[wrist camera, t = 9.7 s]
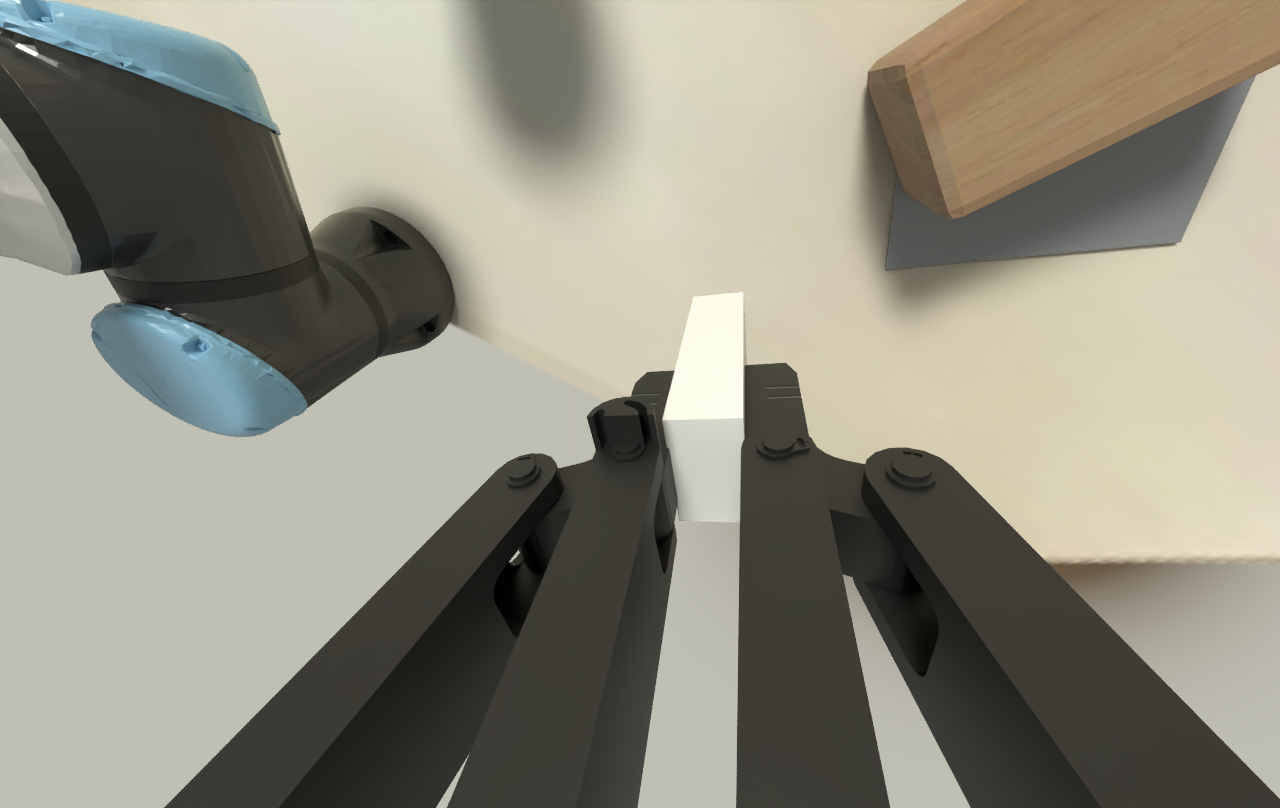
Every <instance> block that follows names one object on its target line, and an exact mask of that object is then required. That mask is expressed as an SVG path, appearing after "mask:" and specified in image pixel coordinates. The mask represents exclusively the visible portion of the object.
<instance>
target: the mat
mask: <svg viewBox="0 0 1280 808" xmlns="http://www.w3.org/2000/svg"><path fill="white" fill-rule="evenodd" d="M1255 76H1256V75H1255ZM1255 76H1253V77H1251V78H1249V79H1247V80H1245V81H1243V82H1241V83H1239V84H1237V85H1235V86H1233V87H1231V88H1228V89H1226V90H1224V91H1222V92H1220V93H1218V94H1216V95H1214V96H1212V97H1210V98H1208V99H1206V100H1204V101H1202V102H1199V103H1197V104H1195V105H1193V106H1191V107H1189V108H1187V109H1185V110H1183V111H1181V112H1179V113H1177V114H1175V115H1173V116H1171V117H1168V118H1166V119H1164V120H1162V121H1160V122H1158V123H1156V124H1154V125H1152V126H1150V127H1148V128H1146V129H1144V130H1142V131H1140V132H1137V133H1135V134H1133V135H1131V136H1129V137H1127V138H1125V139H1123V140H1121V141H1119V142H1117V143H1115V144H1113V145H1111V146H1108V147H1106V148H1104V149H1102V150H1100V151H1098V152H1096V153H1094V154H1092V155H1090V156H1088V157H1086V158H1084V159H1082V160H1080V161H1077V162H1075V163H1073V164H1071V165H1069V166H1067V167H1065V168H1063V169H1061V170H1059V171H1057V172H1055V173H1053V174H1051V175H1048V176H1046V177H1044V178H1042V179H1040V180H1038V181H1036V182H1034V183H1032V184H1030V185H1028V186H1026V187H1024V188H1022V189H1020V190H1017V191H1015V192H1013V193H1011V194H1009V195H1007V196H1005V197H1003V198H1001V199H999V200H997V201H995V202H993V203H991V204H989V205H986V206H984V207H982V208H980V209H978V210H976V211H974V212H972V213H970V214H968V215H966V216H964V217H962V218H955V219H948V220H947V219H946V218H944V217H942V216H941V215H939V214H937V213H936V212H934V211H932V210H931V209H929V208H927V207H926V206H924V205H923V204H921V203H919V202H918V201H916V200H914V199H913V198H911V197H910V196H909V195H908V194H906V193H905V192H904V190H903V188H902V185H901V182H900V179H899V176H898V173H897V177H896V185H895V194H894V202H893V210H892V218H891V226H890V234H889V243H888V251H887V259H886V267H885V269H886V270H890V269H901V268H911V267H922V266H933V265H943V264H954V263H964V262H975V261H986V260H996V259H1007V258H1017V257H1028V256H1039V255H1049V254H1060V253H1071V252H1081V251H1092V250H1102V249H1113V248H1124V247H1134V246H1145V245H1155V244H1166V243H1177V242H1181V240H1182V237H1183V235H1184V233H1185V231H1186V229H1187V226H1188V224H1189V222H1190V220H1191V218H1192V215H1193V213H1194V211H1195V209H1196V207H1197V204H1198V202H1199V200H1200V198H1201V196H1202V193H1203V191H1204V189H1205V187H1206V184H1207V182H1208V180H1209V178H1210V176H1211V173H1212V171H1213V169H1214V167H1215V165H1216V162H1217V160H1218V158H1219V156H1220V154H1221V151H1222V149H1223V147H1224V145H1225V142H1226V140H1227V138H1228V136H1229V134H1230V131H1231V129H1232V127H1233V125H1234V123H1235V120H1236V118H1237V116H1238V114H1239V112H1240V109H1241V107H1242V105H1243V103H1244V100H1245V98H1246V96H1247V94H1248V92H1249V89H1250V87H1251V85H1252V83H1253V81H1254V78H1255Z"/></svg>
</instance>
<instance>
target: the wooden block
mask: <svg viewBox="0 0 1280 808" xmlns="http://www.w3.org/2000/svg"><path fill="white" fill-rule="evenodd" d="M1278 64H1280V0H967V1H966V2H964V3H963V4H961V5H960V6H958V7H957V8H955V9H954V10H952V11H951V12H949V13H948V14H946V15H945V16H943V17H942V18H940V19H939V20H937V21H936V22H934V23H933V24H931V25H930V26H928V27H927V28H925V29H924V30H922V31H921V32H919V33H918V34H916V35H915V36H913V37H912V38H910V39H909V40H907V41H906V42H904V43H903V44H901V45H900V46H898V47H897V48H895V49H894V50H892V51H891V52H889V53H888V54H886V55H885V56H883V57H882V58H880V59H879V60H877V61H876V63H875V64H874V65H873V66H872V68H871V69H870V70H869V71H868V80H867V86H868V89H869V92H870V95H871V98H872V101H873V104H874V107H875V109H876V112H877V115H878V118H879V121H880V124H881V127H882V130H883V133H884V135H885V138H886V141H887V144H888V147H889V150H890V153H891V156H892V159H893V162H894V164H895V167H896V170H897V173H898V176H899V179H900V182H901V185H902V188H903V190H904V192H905V193H906V194H908V195H909V196H910V197H911V198H913V199H914V200H916V201H918V202H919V203H921V204H923V205H924V206H926V207H927V208H929V209H931V210H932V211H934V212H936V213H937V214H939V215H941V216H942V217H944V218H946V219H947V220H948V219H955V218H962V217H964V216H966V215H968V214H970V213H972V212H974V211H976V210H978V209H980V208H982V207H984V206H986V205H989V204H991V203H993V202H995V201H997V200H999V199H1001V198H1003V197H1005V196H1007V195H1009V194H1011V193H1013V192H1015V191H1017V190H1020V189H1022V188H1024V187H1026V186H1028V185H1030V184H1032V183H1034V182H1036V181H1038V180H1040V179H1042V178H1044V177H1046V176H1048V175H1051V174H1053V173H1055V172H1057V171H1059V170H1061V169H1063V168H1065V167H1067V166H1069V165H1071V164H1073V163H1075V162H1077V161H1080V160H1082V159H1084V158H1086V157H1088V156H1090V155H1092V154H1094V153H1096V152H1098V151H1100V150H1102V149H1104V148H1106V147H1108V146H1111V145H1113V144H1115V143H1117V142H1119V141H1121V140H1123V139H1125V138H1127V137H1129V136H1131V135H1133V134H1135V133H1137V132H1140V131H1142V130H1144V129H1146V128H1148V127H1150V126H1152V125H1154V124H1156V123H1158V122H1160V121H1162V120H1164V119H1166V118H1168V117H1171V116H1173V115H1175V114H1177V113H1179V112H1181V111H1183V110H1185V109H1187V108H1189V107H1191V106H1193V105H1195V104H1197V103H1199V102H1202V101H1204V100H1206V99H1208V98H1210V97H1212V96H1214V95H1216V94H1218V93H1220V92H1222V91H1224V90H1226V89H1228V88H1231V87H1233V86H1235V85H1237V84H1239V83H1241V82H1243V81H1245V80H1247V79H1249V78H1251V77H1253V76H1255V75H1257V74H1259V73H1262V72H1264V71H1266V70H1268V69H1270V68H1272V67H1274V66H1276V65H1278Z"/></svg>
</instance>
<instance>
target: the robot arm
mask: <svg viewBox="0 0 1280 808" xmlns="http://www.w3.org/2000/svg"><path fill="white" fill-rule="evenodd" d="M278 135H281V134H280V131H279V128H278V127H277V125H276V124H275V123H274V122H273V121H272V119H271V116H270V113H269V111H268V108H267V105H266V103H265V100H264V97H263V95H262V92H261V89H260V87H259V84H258V81H257V79H256V76H255V74H254V72H253V71H252V69H251V68H250V66H249V65H248V64H247V63H246V61H245V60H244V59H243V58H242V57H241V56H239V55H238V54H237V53H236V52H234V51H233V50H232V49H230V48H229V47H227V46H225V45H223V44H221V43H219V42H217V41H214V40H212V39H209V38H206V37H202V36H199V35H196V34H193V33H189V32H186V31H182V30H178V29H175V28H171V27H167V26H163V25H159V24H155V23H152V22H148V21H143V20H139V19H135V18H131V17H127V16H123V15H118V14H114V13H110V12H105V11H101V10H96V9H92V8H88V7H83V6H78V5H73V4H68V3H63V2H59V1H46V0H0V256H4V257H9V258H15V259H18V260H22V261H24V262H28V263H31V264H34V265H37V266H39V267H42V268H45V269H48V270H51V271H54V272H58V273H61V274H63V275H75V274H81V273H86V272H92V271H98V270H103V271H104V272H105V274H106V276H107V278H108V279H109V281H110V282H111V284H112V286H113V288H114V289H115V291H116V293H117V294H118V296H119V298H120V300H121V302H120V303H113V304H109V305H107V306H105V307H104V309H103V310H102V311H101V312H99V313H98V314H96V315H95V317H94V318H93V319H92V322H91V328H92V329H93V330H92V339H93V342H94V344H95V346H96V348H97V349H98V351H99V352H100V354H101V355H102V357H103V358H104V359H105V361H106V362H107V363H108V364H109V365H110V366H111V368H112V369H113V370H114V371H115V372H116V373H117V374H118V375H119V376H120V377H121V378H122V379H123V380H124V381H125V382H126V383H128V384H129V385H130V386H131V387H133V388H134V389H135V390H136V391H137V392H139V393H140V394H141V395H143V396H144V397H145V398H147V399H148V400H149V401H151V402H152V403H154V404H155V405H157V406H158V407H160V408H161V409H163V410H165V411H167V412H169V413H170V414H172V415H173V416H175V417H177V418H179V419H181V420H183V421H185V422H187V423H189V424H192V425H194V426H196V427H199V428H201V429H204V430H207V431H210V432H214V433H217V434H221V435H226V436H234V437H249V436H256V435H260V434H263V433H265V432H268V431H270V430H271V429H273V428H275V427H276V426H278V425H280V424H282V423H283V422H285V421H287V420H289V419H290V418H292V417H293V416H297V415H300V414H302V413H303V412H304V411H305V410H306V408H308V407H309V406H311V405H312V404H313V403H315V402H316V401H317V400H319V399H320V398H322V397H323V396H325V395H326V394H327V393H329V392H330V391H331V390H333V389H334V388H336V387H337V386H339V385H340V384H341V383H343V382H344V381H346V380H347V379H348V378H350V377H351V376H353V375H354V374H355V373H357V372H358V371H360V370H361V369H362V368H364V367H365V366H367V365H368V364H369V363H371V362H372V361H373V360H375V359H377V358H378V357H382V356H386V355H391V354H395V353H400V352H405V351H409V350H414V349H417V348H420V347H422V346H424V345H426V344H428V343H429V342H431V341H432V340H433V339H435V338H436V337H437V336H439V335H440V334H441V333H442V332H443V331H444V330H445V328H446V327H447V325H448V324H449V322H450V319H451V316H452V312H453V291H452V286H451V282H450V279H449V276H448V273H447V271H446V268H445V266H444V264H443V262H442V261H441V259H440V257H439V256H438V254H437V253H436V251H435V250H434V248H433V247H432V246H431V245H430V243H429V242H428V241H427V240H426V239H425V238H424V237H423V236H422V235H421V234H420V233H419V232H418V231H417V230H416V229H415V228H413V227H412V226H411V225H409V224H408V223H407V222H405V221H404V220H402V219H400V218H399V217H397V216H395V215H393V214H391V213H388V212H386V211H382V210H379V209H375V208H367V207H360V208H353V209H349V210H346V211H342V212H338V213H335V214H333V215H331V216H329V217H327V218H326V219H324V220H323V221H322V222H320V223H319V224H318V225H317V226H316V227H315V228H314V229H313V230H312V231H311V232H310V233H309V230H308V227H307V224H306V221H305V218H304V215H303V212H302V208H301V205H300V202H299V199H298V196H297V193H296V190H295V187H294V183H293V180H292V177H291V174H290V171H289V168H288V165H287V161H286V158H285V155H284V152H283V149H282V146H281V143H280V140H279V136H278ZM587 419H588V423H589V426H590V430H591V434H592V437H593V441H594V444H595V448H596V452H595V454H594V456H593V459H591V460H589V461H586V462H583V463H580V464H576V465H571V466H567V467H563V468H558V467H557V465H556V463H555V461H554V460H553V459H552V458H551V457H550V456H547V455H544V454H527V455H523V456H519V457H517V458H515V459H513V460H510V461H508V462H507V463H506V464H504V465H503V466H502V467H501V468H499V469H498V470H497V471H496V472H495V473H494V474H493V475H492V476H491V477H490V478H489V479H488V480H487V481H486V482H485V483H484V484H483V485H482V486H481V487H480V488H479V489H478V490H477V491H476V492H475V493H474V494H473V495H472V496H471V497H470V498H469V499H468V500H467V501H466V502H465V504H463V505H462V506H461V507H460V508H459V510H457V511H456V512H455V513H454V514H453V515H452V517H451V518H450V519H449V520H448V521H447V522H446V523H445V524H444V525H443V526H442V527H441V528H440V529H439V530H438V531H437V532H436V533H435V534H434V535H433V536H432V537H431V538H430V539H429V540H428V541H427V542H426V543H425V544H424V545H423V546H422V547H421V548H420V549H419V550H418V551H417V552H416V553H415V554H414V555H413V556H412V557H411V558H410V559H409V560H408V561H407V562H406V563H405V564H404V565H403V566H402V567H401V568H400V569H399V570H398V571H397V572H396V573H395V574H394V575H393V576H392V577H391V578H390V579H389V580H388V581H387V582H386V583H385V585H383V587H381V588H380V589H379V590H378V592H377V593H376V594H375V595H374V596H373V597H372V598H371V599H370V600H369V601H368V602H367V603H366V604H365V605H364V606H363V607H362V608H361V609H360V610H359V611H358V612H357V613H356V614H355V615H354V616H353V617H352V618H351V619H350V620H349V621H348V622H347V623H346V624H345V625H344V626H343V627H342V628H341V629H340V630H339V631H338V632H337V633H336V634H335V635H334V636H333V637H332V638H331V639H330V640H329V641H328V642H327V643H326V644H325V645H324V646H323V647H322V648H321V649H320V650H319V651H318V653H316V654H315V655H314V656H313V657H312V658H311V659H310V660H309V661H308V662H307V663H306V664H305V666H304V667H303V668H302V669H301V670H300V671H299V672H298V673H297V674H296V675H295V676H294V677H293V678H292V679H291V680H290V681H289V682H288V683H287V684H286V685H285V686H284V687H283V688H282V689H281V690H280V691H279V692H278V693H277V694H276V695H275V696H274V697H273V698H272V699H271V700H270V701H269V702H268V703H267V704H266V705H265V706H264V707H263V708H262V709H261V710H260V711H259V712H258V713H257V714H256V715H255V716H254V717H253V718H252V719H251V720H250V721H249V722H248V723H247V724H246V725H245V726H244V727H243V728H242V729H241V730H240V731H239V732H238V733H237V734H236V735H235V737H234V738H233V739H231V741H230V742H229V743H228V744H227V745H226V746H225V747H224V748H223V749H222V750H221V751H220V752H219V753H218V754H217V755H216V756H215V757H214V758H213V759H212V760H211V761H210V762H209V763H208V764H207V765H206V766H205V767H204V768H203V769H202V770H201V771H200V772H199V773H198V774H197V775H196V776H195V777H194V778H193V779H192V780H191V781H190V782H189V783H188V784H187V785H186V786H185V787H184V788H183V789H182V790H181V791H180V792H179V793H178V794H177V795H176V796H175V797H174V798H173V799H172V800H171V802H169V803H168V804H167V806H166V807H164V808H436V806H437V805H438V803H439V802H440V800H441V798H442V797H443V795H444V794H445V792H446V790H447V789H448V787H449V785H450V784H451V782H452V781H453V779H454V777H455V776H456V774H457V772H458V771H459V769H460V768H461V766H462V764H463V763H464V761H465V759H466V758H467V756H468V755H469V756H468V759H467V761H466V764H465V766H464V768H463V771H462V773H461V776H460V778H459V780H458V783H457V785H456V788H455V790H454V792H453V795H452V797H451V800H450V802H449V804H448V807H447V808H637V806H638V800H639V793H640V786H641V779H642V773H643V766H644V759H645V752H646V745H647V739H648V732H649V725H650V719H651V712H652V705H653V698H654V692H655V685H656V678H657V671H658V665H659V658H660V650H661V644H662V637H663V631H664V624H665V617H666V610H667V603H668V597H669V589H670V584H671V577H672V570H673V563H674V557H675V550H676V543H677V538H676V530H675V524H674V520H675V514H676V508H677V510H678V516H679V520H680V521H702V522H739V523H740V561H739V562H740V563H739V564H740V566H739V639H738V641H739V642H738V718H737V719H738V720H737V722H738V723H737V724H738V725H737V796H736V808H890V805H889V800H888V795H887V790H886V785H885V780H884V775H883V771H882V765H881V760H880V756H879V751H878V746H877V741H876V737H875V731H874V726H873V721H872V716H871V712H870V707H869V702H868V697H867V692H866V687H865V682H864V677H863V672H862V668H861V663H860V658H859V653H858V648H857V643H856V638H855V633H854V628H853V623H852V618H851V614H850V609H849V604H848V599H847V594H846V589H845V584H844V579H843V574H844V575H847V576H850V577H853V580H854V584H855V586H856V588H857V590H858V591H859V593H860V595H861V597H862V599H863V601H864V603H865V605H866V607H867V609H868V611H869V612H870V615H871V617H872V618H873V620H874V622H875V624H876V626H877V628H878V630H879V632H880V634H881V636H882V637H883V640H884V641H885V643H886V645H887V647H888V649H889V651H890V653H891V655H892V657H893V659H894V661H895V663H896V665H897V666H898V668H899V670H900V672H901V674H902V676H903V678H904V680H905V682H906V684H907V686H908V688H909V690H910V692H911V693H912V695H913V697H914V699H915V701H916V703H917V705H918V707H919V709H920V711H921V713H922V715H923V716H924V718H925V720H926V722H927V724H928V726H929V728H930V730H931V732H932V734H933V736H934V738H935V740H936V742H937V743H938V745H939V747H940V749H941V751H942V753H943V755H944V757H945V759H946V761H947V763H948V765H949V767H950V768H951V770H952V772H953V774H954V776H955V778H956V780H957V782H958V784H959V786H960V788H961V790H962V792H963V793H964V795H965V797H966V799H967V801H968V803H969V805H970V807H971V808H1280V799H1279V798H1278V797H1277V796H1276V795H1275V794H1274V793H1273V792H1272V791H1271V790H1270V789H1269V788H1268V787H1267V786H1266V785H1265V784H1264V783H1263V782H1262V780H1261V779H1259V777H1258V776H1257V775H1256V774H1255V773H1254V772H1253V771H1252V770H1250V768H1249V767H1248V766H1247V765H1246V764H1245V763H1244V762H1243V761H1242V760H1241V759H1240V758H1239V757H1238V756H1237V755H1236V754H1235V753H1234V752H1233V751H1232V750H1231V749H1230V748H1229V747H1228V746H1227V745H1226V744H1225V743H1224V742H1223V741H1222V740H1221V739H1220V738H1219V737H1218V736H1217V735H1216V734H1215V733H1214V732H1213V731H1212V730H1211V729H1210V728H1209V727H1208V726H1207V725H1206V724H1205V723H1204V722H1203V721H1202V720H1201V719H1200V718H1199V717H1198V716H1197V715H1196V713H1195V712H1194V711H1193V710H1192V709H1191V708H1190V707H1189V706H1188V705H1187V704H1186V703H1185V702H1184V701H1183V700H1182V699H1181V698H1180V697H1179V696H1178V695H1177V694H1176V693H1175V692H1174V691H1173V690H1172V689H1171V688H1170V687H1169V686H1168V685H1167V684H1166V683H1165V682H1164V681H1163V680H1162V679H1161V678H1160V677H1159V676H1158V675H1157V674H1156V673H1155V672H1154V671H1153V670H1152V669H1151V668H1150V667H1149V666H1148V665H1147V664H1146V663H1145V662H1144V661H1143V660H1142V659H1141V658H1140V657H1139V656H1138V655H1137V654H1136V653H1135V652H1134V651H1133V649H1132V648H1131V647H1129V646H1128V644H1127V643H1126V642H1125V641H1124V640H1123V639H1122V638H1121V637H1120V636H1119V635H1118V634H1117V633H1116V632H1115V631H1114V630H1113V629H1112V628H1111V627H1110V626H1109V625H1108V624H1107V623H1106V622H1105V621H1104V620H1103V619H1102V618H1101V617H1100V616H1099V615H1098V614H1097V613H1096V612H1095V611H1094V610H1093V609H1092V608H1091V607H1090V606H1089V605H1088V604H1087V603H1086V602H1085V601H1084V600H1083V599H1082V598H1081V597H1080V596H1079V595H1078V594H1077V593H1076V592H1075V591H1074V590H1073V589H1072V588H1071V587H1070V586H1069V584H1068V583H1066V582H1065V580H1064V579H1063V578H1062V577H1061V576H1060V575H1059V574H1058V573H1057V572H1056V571H1055V570H1054V569H1053V568H1052V567H1051V566H1050V565H1049V564H1048V563H1047V562H1046V561H1045V560H1044V559H1043V558H1042V557H1041V556H1040V555H1039V554H1038V553H1037V552H1036V551H1035V550H1034V549H1033V548H1032V547H1031V546H1030V545H1029V544H1028V543H1027V542H1026V541H1025V540H1024V539H1023V538H1022V537H1021V536H1020V535H1019V534H1018V533H1017V532H1016V531H1015V530H1014V529H1013V528H1012V527H1011V526H1010V525H1009V524H1008V523H1007V521H1006V520H1005V519H1004V518H1003V517H1002V516H1001V515H1000V514H999V513H998V512H997V511H996V510H995V509H994V508H993V507H992V506H991V505H990V504H989V503H988V502H987V501H986V500H985V499H984V498H983V497H982V496H981V495H980V494H979V493H978V492H977V491H976V490H975V489H974V488H973V487H972V486H971V485H970V484H969V483H968V482H967V481H966V480H965V479H964V478H963V477H962V476H961V475H960V474H959V473H958V472H957V471H956V470H955V469H954V468H953V467H952V466H951V465H949V464H948V463H947V462H945V461H944V460H943V459H941V458H940V457H937V456H935V455H933V454H930V453H928V452H925V451H922V450H916V449H911V448H888V449H885V450H881V451H878V452H875V453H874V454H873V455H872V456H871V457H869V458H868V459H867V461H866V464H861V463H856V462H851V461H846V460H843V459H839V458H835V457H833V456H831V455H829V454H826V453H824V452H823V451H821V450H820V449H819V448H817V447H816V445H815V443H814V442H813V440H812V438H810V437H809V434H808V429H807V424H806V419H805V414H804V408H803V403H802V398H801V393H800V388H799V382H798V377H797V373H796V372H795V371H794V370H793V369H792V368H791V367H790V366H789V365H787V364H786V363H776V364H759V365H747V357H746V336H745V315H744V293H743V292H739V293H728V294H718V295H707V296H697V297H693V301H692V305H691V309H690V313H689V317H688V321H687V325H686V329H685V332H684V336H683V340H682V344H681V348H680V352H679V356H678V360H677V364H676V368H675V371H659V372H647V373H646V374H645V375H644V376H642V377H641V378H640V379H639V380H638V381H637V382H636V383H635V386H634V389H633V391H632V396H631V397H622V398H616V399H612V400H609V401H607V402H604V403H602V404H600V405H599V406H597V407H595V408H594V409H593V410H592V411H591V412H590V413H589V415H588V416H587ZM518 549H519V552H520V554H519V555H518V556H517V557H516V558H515V559H514V560H513V561H512V562H510V563H509V561H510V560H511V558H512V557H513V556H514V555H515V553H516V552H517V551H518ZM469 753H470V754H469Z"/></svg>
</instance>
